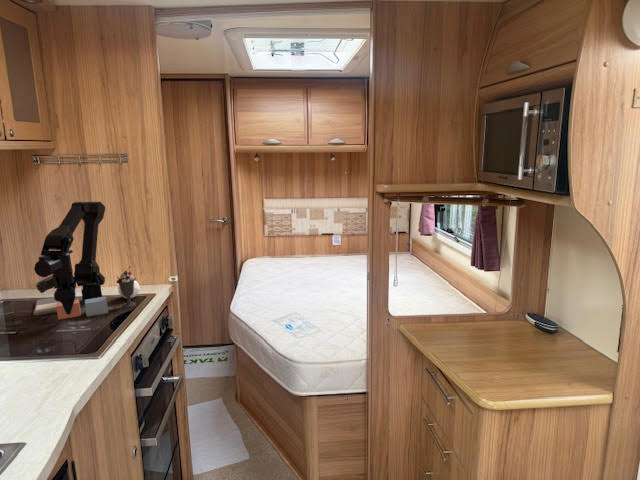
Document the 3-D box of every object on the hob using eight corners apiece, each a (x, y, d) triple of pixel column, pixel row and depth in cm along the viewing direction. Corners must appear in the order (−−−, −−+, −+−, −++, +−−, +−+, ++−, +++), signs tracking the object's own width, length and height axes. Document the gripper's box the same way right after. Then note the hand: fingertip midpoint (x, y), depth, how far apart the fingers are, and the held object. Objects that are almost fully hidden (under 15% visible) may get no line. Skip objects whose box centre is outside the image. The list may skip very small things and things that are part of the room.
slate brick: (107, 308, 166) (106, 296, 165) (108, 313, 162) (106, 300, 161) (86, 312, 163) (84, 299, 162) (86, 316, 159) (84, 303, 158)
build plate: (63, 298, 178) (63, 295, 177) (62, 311, 164) (61, 308, 164) (37, 302, 174) (37, 299, 173) (33, 315, 160) (33, 312, 160)
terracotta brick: (80, 311, 164) (78, 299, 163) (80, 316, 160) (78, 302, 159) (58, 315, 160) (56, 302, 159) (58, 319, 157) (56, 306, 155)
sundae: (141, 302, 172) (137, 265, 169) (133, 308, 165) (128, 270, 162) (125, 301, 173) (121, 264, 169) (116, 308, 166) (111, 269, 163)
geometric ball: (125, 305, 176) (110, 292, 173) (135, 292, 183) (120, 279, 180) (137, 298, 173) (122, 284, 170) (147, 285, 180) (132, 271, 177)
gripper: (38, 265, 161) (44, 305, 164) (33, 279, 144) (40, 323, 148) (73, 261, 166) (78, 300, 169) (71, 274, 149) (78, 317, 153)
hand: (68, 310), depth 160 cm, fingers open, 9 cm apart
